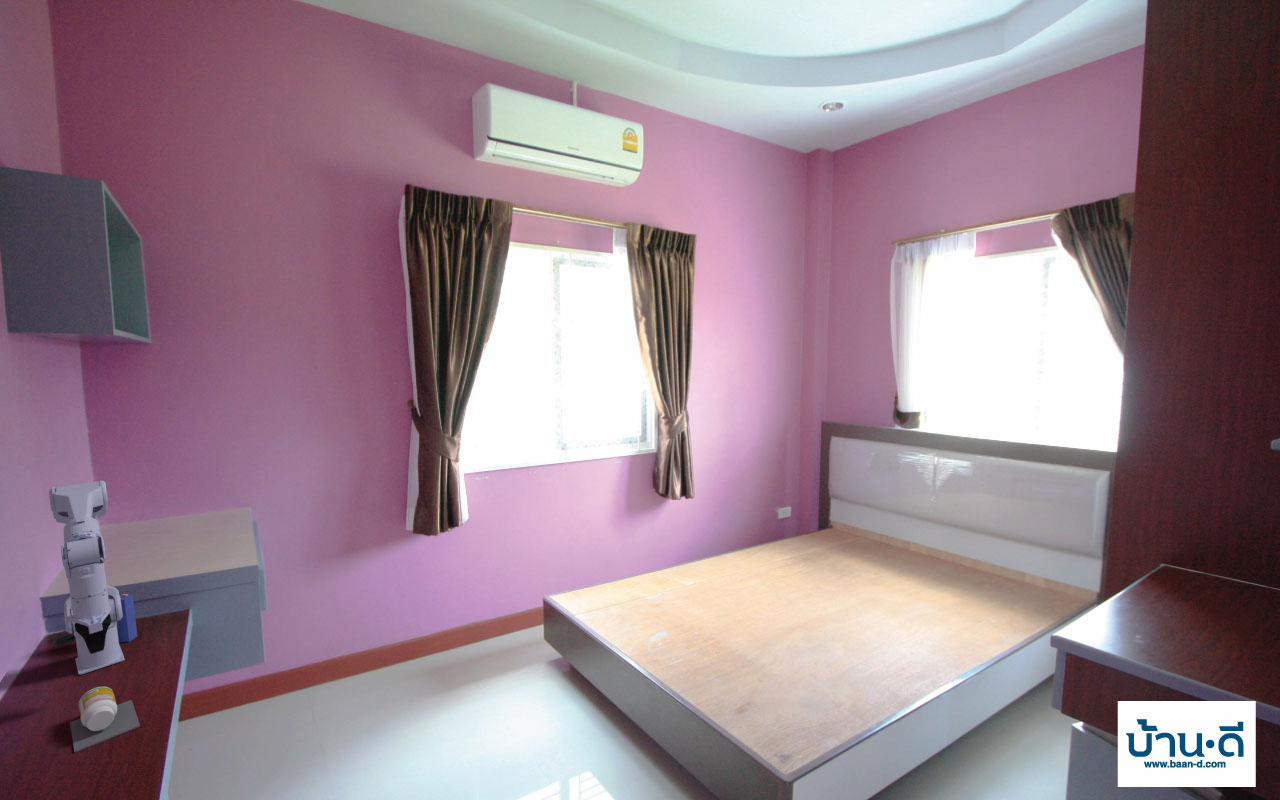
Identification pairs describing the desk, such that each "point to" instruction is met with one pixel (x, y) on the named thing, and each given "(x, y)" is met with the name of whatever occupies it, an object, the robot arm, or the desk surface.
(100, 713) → the supplement bottle
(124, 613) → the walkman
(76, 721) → the mat
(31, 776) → the desk surface
